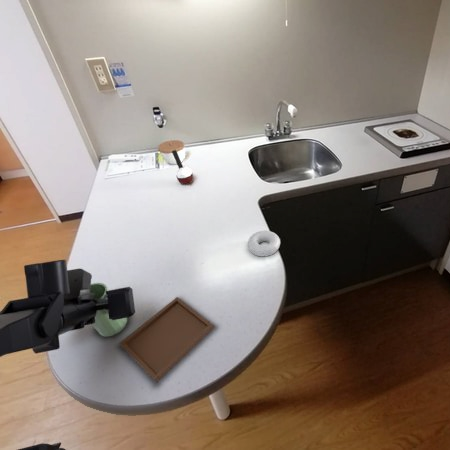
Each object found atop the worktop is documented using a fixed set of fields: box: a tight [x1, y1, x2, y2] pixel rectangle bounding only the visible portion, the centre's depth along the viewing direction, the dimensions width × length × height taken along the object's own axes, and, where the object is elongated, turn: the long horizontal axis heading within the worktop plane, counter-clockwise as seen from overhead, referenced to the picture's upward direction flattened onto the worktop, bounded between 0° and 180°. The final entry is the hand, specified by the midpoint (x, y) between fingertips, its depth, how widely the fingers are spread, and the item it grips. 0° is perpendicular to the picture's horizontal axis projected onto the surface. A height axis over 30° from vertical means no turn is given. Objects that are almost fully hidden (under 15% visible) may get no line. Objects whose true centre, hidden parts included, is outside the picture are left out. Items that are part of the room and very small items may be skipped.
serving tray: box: [118, 297, 214, 384], centre depth 71 cm, size 16×14×2 cm
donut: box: [247, 230, 281, 257], centre depth 94 cm, size 10×4×10 cm
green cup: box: [90, 282, 128, 337], centre depth 71 cm, size 6×6×12 cm
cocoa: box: [172, 150, 194, 186], centre depth 120 cm, size 10×6×12 cm, turn 14°
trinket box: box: [157, 139, 186, 166], centre depth 134 cm, size 11×11×9 cm
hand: (103, 303), depth 71 cm, fingers closed on green cup, 6 cm apart
